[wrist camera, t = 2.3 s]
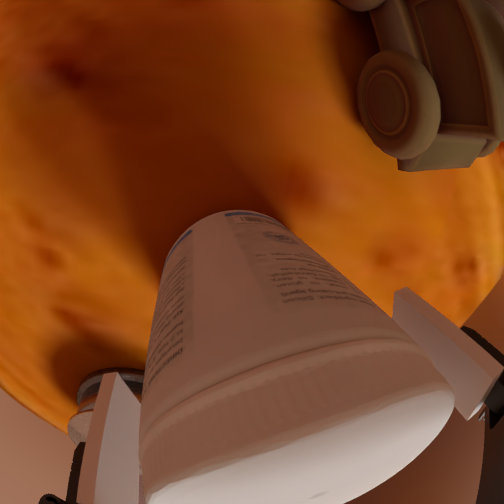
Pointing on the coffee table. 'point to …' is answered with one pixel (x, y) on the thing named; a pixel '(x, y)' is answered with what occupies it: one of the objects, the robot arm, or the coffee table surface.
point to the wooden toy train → (434, 81)
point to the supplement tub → (276, 375)
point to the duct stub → (88, 397)
